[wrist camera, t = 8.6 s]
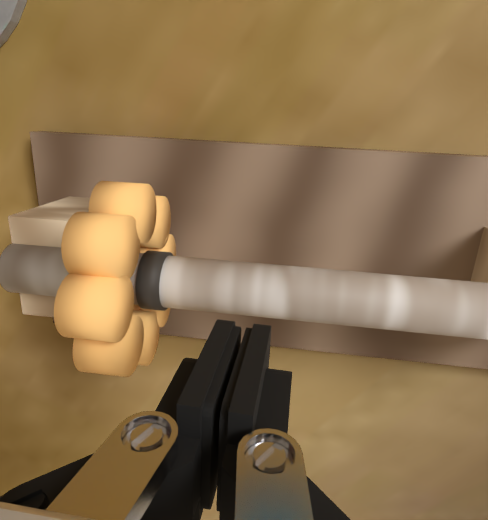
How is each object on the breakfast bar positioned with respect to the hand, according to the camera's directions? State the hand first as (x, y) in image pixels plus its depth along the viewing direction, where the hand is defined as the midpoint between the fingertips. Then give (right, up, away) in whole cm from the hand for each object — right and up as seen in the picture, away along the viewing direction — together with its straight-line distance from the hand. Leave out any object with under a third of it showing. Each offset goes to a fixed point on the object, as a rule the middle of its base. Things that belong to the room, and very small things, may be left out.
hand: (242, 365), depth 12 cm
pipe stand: (+3, +4, +12) cm, 13 cm away
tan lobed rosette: (-5, +4, +11) cm, 12 cm away
